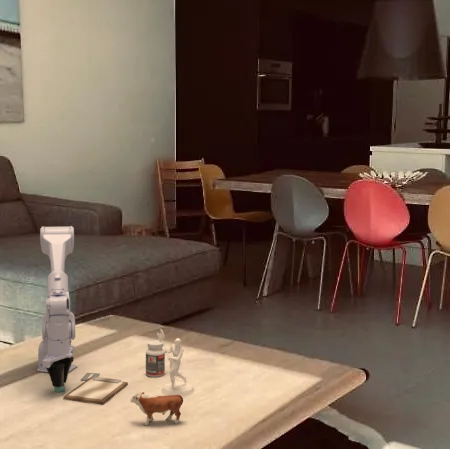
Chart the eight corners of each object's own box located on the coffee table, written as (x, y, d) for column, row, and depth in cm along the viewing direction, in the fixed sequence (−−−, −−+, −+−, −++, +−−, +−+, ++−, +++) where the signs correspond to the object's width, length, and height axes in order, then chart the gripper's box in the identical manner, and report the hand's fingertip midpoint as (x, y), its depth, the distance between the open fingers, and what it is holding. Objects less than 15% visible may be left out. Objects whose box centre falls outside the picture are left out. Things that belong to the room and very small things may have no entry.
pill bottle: (161, 378, 224) (161, 346, 223) (143, 376, 225) (143, 344, 224) (166, 371, 230) (167, 340, 228) (148, 370, 231) (149, 339, 229)
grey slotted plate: (80, 380, 221) (80, 379, 221) (87, 373, 227) (86, 372, 227) (94, 381, 221) (94, 380, 221) (99, 374, 226) (99, 373, 226)
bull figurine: (130, 419, 194) (130, 389, 193) (182, 418, 195) (183, 388, 194) (129, 426, 189) (129, 395, 188) (183, 425, 191) (183, 394, 189)
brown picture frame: (63, 399, 206) (63, 394, 206) (90, 380, 222) (90, 375, 221) (103, 404, 203) (103, 399, 203) (127, 384, 218) (127, 380, 218)
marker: (52, 392, 211) (51, 365, 210) (57, 388, 214) (56, 361, 213) (61, 393, 210) (61, 366, 209) (66, 390, 213) (66, 362, 212)
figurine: (154, 388, 216) (154, 327, 213) (182, 381, 221) (182, 322, 219) (172, 399, 208) (173, 335, 205) (201, 391, 214) (201, 330, 211)
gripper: (58, 346, 202) (59, 395, 204) (83, 332, 216) (84, 377, 218) (35, 344, 204) (36, 391, 206) (61, 329, 218) (62, 374, 220)
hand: (59, 384), depth 212 cm, fingers closed on marker, 3 cm apart
